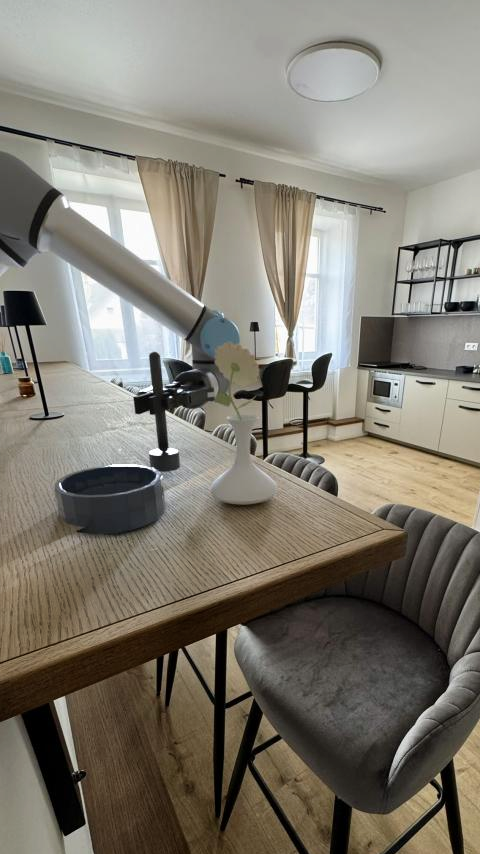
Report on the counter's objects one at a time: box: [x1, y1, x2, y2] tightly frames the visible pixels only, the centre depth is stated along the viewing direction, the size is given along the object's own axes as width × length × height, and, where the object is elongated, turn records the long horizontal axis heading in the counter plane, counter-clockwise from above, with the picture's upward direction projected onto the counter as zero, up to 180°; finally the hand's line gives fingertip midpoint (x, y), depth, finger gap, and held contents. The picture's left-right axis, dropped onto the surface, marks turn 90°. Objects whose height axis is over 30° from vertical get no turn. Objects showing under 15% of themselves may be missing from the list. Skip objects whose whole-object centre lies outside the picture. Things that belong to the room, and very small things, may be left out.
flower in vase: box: [209, 342, 278, 506], centre depth 66 cm, size 13×11×25 cm
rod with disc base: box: [148, 351, 181, 473], centre depth 71 cm, size 5×5×20 cm
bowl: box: [53, 464, 166, 535], centre depth 61 cm, size 15×15×6 cm
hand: (143, 405), depth 66 cm, fingers closed on rod with disc base, 2 cm apart
